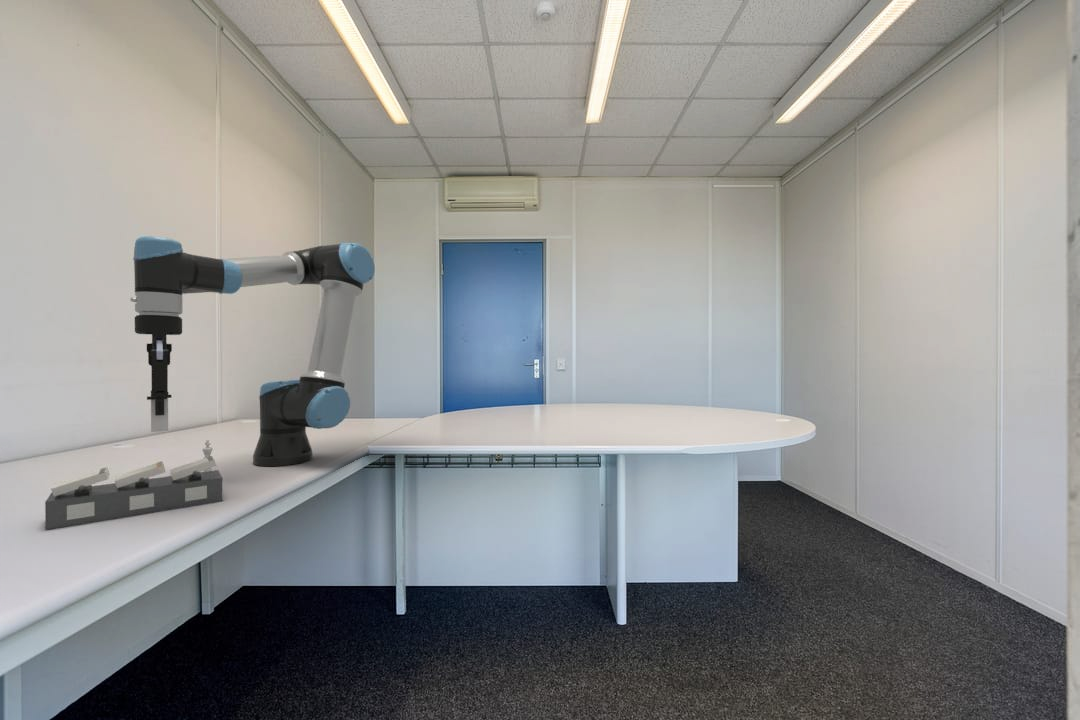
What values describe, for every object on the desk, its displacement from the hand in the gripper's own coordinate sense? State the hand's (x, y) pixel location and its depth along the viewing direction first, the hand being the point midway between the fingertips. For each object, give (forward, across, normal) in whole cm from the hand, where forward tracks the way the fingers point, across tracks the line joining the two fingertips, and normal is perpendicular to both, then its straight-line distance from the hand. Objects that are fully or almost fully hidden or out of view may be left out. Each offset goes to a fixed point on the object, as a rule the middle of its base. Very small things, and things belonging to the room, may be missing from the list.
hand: (159, 430), depth 96 cm
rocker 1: (+9, 0, -11) cm, 15 cm away
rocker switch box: (+15, 0, -3) cm, 16 cm away
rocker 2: (+9, 0, -3) cm, 10 cm away
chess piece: (+16, -16, +9) cm, 24 cm away
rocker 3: (+9, 0, +6) cm, 11 cm away
